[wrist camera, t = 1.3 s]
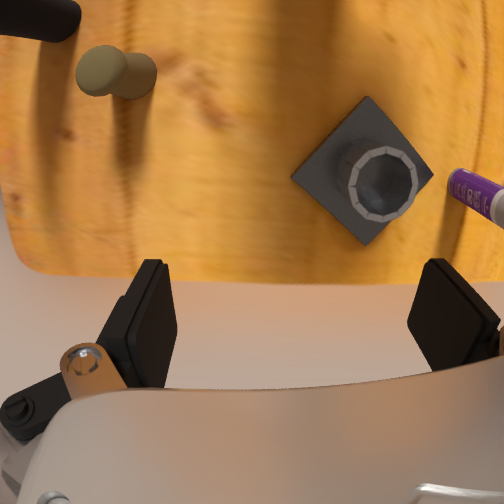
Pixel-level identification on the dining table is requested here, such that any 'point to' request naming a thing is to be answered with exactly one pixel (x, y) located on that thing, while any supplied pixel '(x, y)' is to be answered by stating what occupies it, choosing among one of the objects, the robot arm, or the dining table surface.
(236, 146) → the dining table surface
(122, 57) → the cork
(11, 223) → the dining table surface
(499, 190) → the container
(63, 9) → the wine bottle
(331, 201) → the duct collar
